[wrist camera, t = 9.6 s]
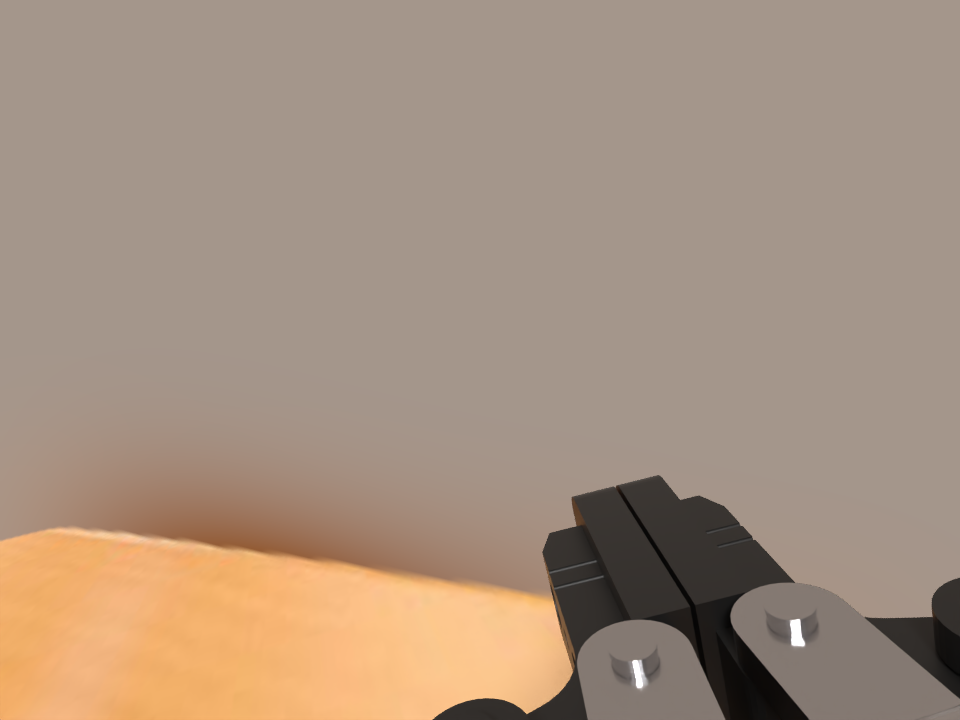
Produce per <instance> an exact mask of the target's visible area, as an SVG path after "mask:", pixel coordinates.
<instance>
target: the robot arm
mask: <svg viewBox="0 0 960 720" xmlns="http://www.w3.org/2000/svg"><path fill="white" fill-rule="evenodd" d="M572 506H573V511H574V516H575V520H576V525H577V526H576V527H572V528H568V529H564V530H560V531H556V532H552V533H550V534H549V536H548V539H547V541H546V544H545V547H544V550H543V557H544V561H545V565H546V570H547V574H548V578H549V583H550V587H551V591H552V595H553V600H554V604H555V608H556V612H557V617H558V621H559V625H560V629H561V633H562V636H563V640H564V643H565V646H566V649H567V653H568V656H569V659H570V663H571V666H572V669H573V674H572V676H571V678H570V680H569V682H568V683H567V684H566V686H565V687H564V688H563V689H562V691H561V692H560V693H559V694H558V695H556V696H555V697H554V698H553V699H552V700H550V701H549V702H547V703H546V704H544V705H543V706H541V707H539V708H537V709H536V710H534V711H532V712H530V713H528V714H526V713H525V712H524V711H523V710H522V709H521V708H519V707H517V706H516V705H514V704H512V703H510V702H507V701H504V700H499V699H489V698H484V699H475V700H470V701H466V702H463V703H460V704H457V705H455V706H453V707H451V708H449V709H447V710H445V711H444V712H442V713H441V714H439V715H438V716H437V717H435V718H434V719H433V720H960V578H958V579H954V580H952V581H949V582H947V583H945V584H944V585H942V586H941V587H939V588H938V590H937V591H936V592H935V593H934V595H933V598H932V614H933V617H924V618H923V617H920V618H867V617H863V616H862V615H861V614H859V613H858V612H857V611H856V610H855V609H854V608H852V607H851V606H850V605H849V604H848V603H847V602H845V601H844V600H843V599H841V598H840V597H839V596H837V595H835V594H834V593H832V592H830V591H827V590H825V589H822V588H820V587H816V586H812V585H807V584H800V583H795V582H794V581H793V580H792V579H791V578H790V577H789V576H788V575H787V573H786V572H785V571H784V570H783V569H782V568H781V567H780V566H779V565H778V564H777V563H776V562H775V561H774V559H773V558H772V557H771V556H770V555H769V554H768V553H767V552H766V551H765V550H764V549H763V548H762V547H761V546H760V544H759V543H758V542H757V541H756V540H753V538H752V536H751V535H750V534H749V533H748V532H747V530H746V529H745V528H744V527H743V526H740V524H739V522H738V521H737V520H736V519H735V517H734V516H733V515H732V514H731V513H730V512H729V511H728V510H727V509H726V508H725V507H724V506H722V505H720V504H717V503H715V502H712V501H710V500H708V499H706V498H703V497H701V496H695V497H691V498H687V499H683V500H680V499H679V498H678V497H677V496H676V494H675V493H674V492H673V491H672V489H671V488H670V487H669V486H668V485H667V483H666V482H665V481H664V480H663V478H662V477H661V476H659V475H657V476H653V477H649V478H646V479H641V480H637V481H633V482H629V483H625V484H621V485H617V486H616V488H615V487H610V488H606V489H602V490H598V491H594V492H590V493H586V494H582V495H578V496H574V497H572Z"/></svg>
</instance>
